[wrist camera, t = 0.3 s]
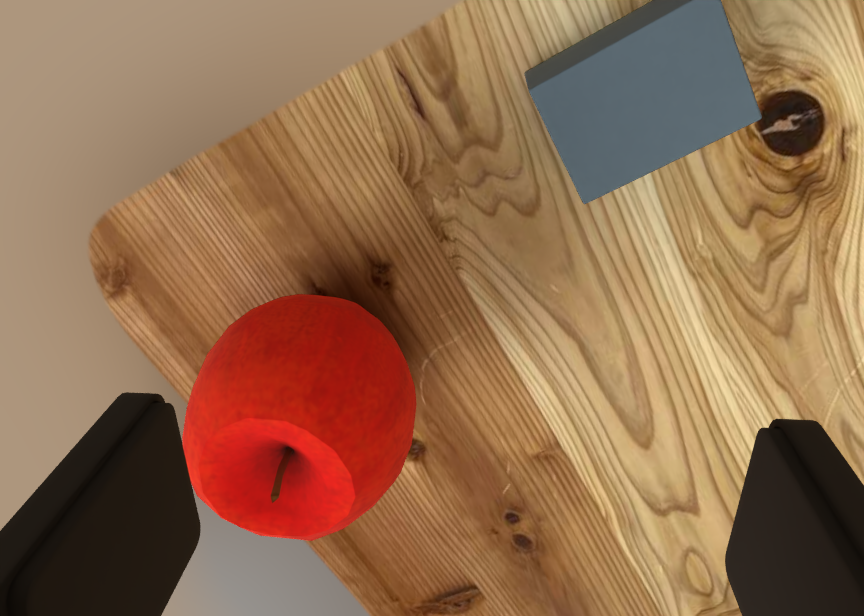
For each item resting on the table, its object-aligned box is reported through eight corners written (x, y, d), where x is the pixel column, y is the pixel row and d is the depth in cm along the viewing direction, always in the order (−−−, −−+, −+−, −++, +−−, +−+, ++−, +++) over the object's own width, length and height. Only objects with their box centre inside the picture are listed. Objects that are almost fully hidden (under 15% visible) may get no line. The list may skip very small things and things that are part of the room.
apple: (314, 439, 39) (244, 622, 28) (205, 307, 35) (77, 458, 24) (462, 369, 36) (448, 546, 25) (359, 217, 32) (290, 345, 21)
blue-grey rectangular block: (572, 173, 30) (584, 205, 26) (523, 72, 29) (528, 90, 25) (725, 96, 28) (762, 118, 24) (683, -18, 27) (716, -14, 23)
